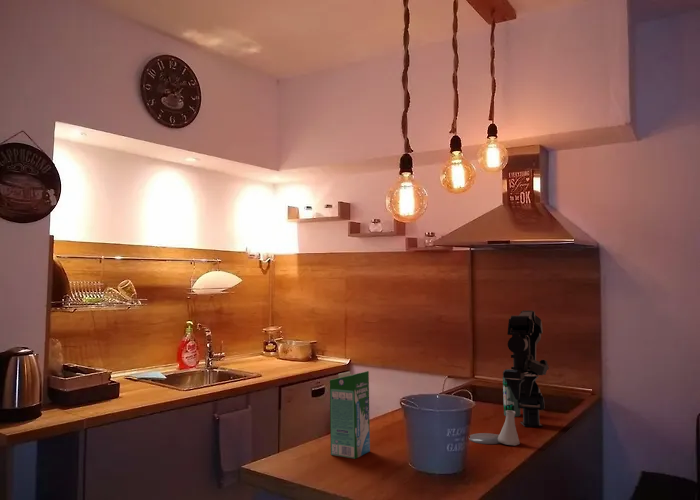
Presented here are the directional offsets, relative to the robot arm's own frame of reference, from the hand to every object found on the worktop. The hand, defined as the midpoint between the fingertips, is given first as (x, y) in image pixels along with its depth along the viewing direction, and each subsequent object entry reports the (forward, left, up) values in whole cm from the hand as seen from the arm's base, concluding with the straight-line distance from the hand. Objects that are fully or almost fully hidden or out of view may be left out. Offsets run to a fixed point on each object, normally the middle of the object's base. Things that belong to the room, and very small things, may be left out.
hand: (522, 398), depth 188 cm
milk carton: (+20, -58, -13) cm, 63 cm away
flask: (+9, -7, -13) cm, 17 cm away
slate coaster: (+4, -13, -13) cm, 19 cm away
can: (-33, +4, -13) cm, 36 cm away
